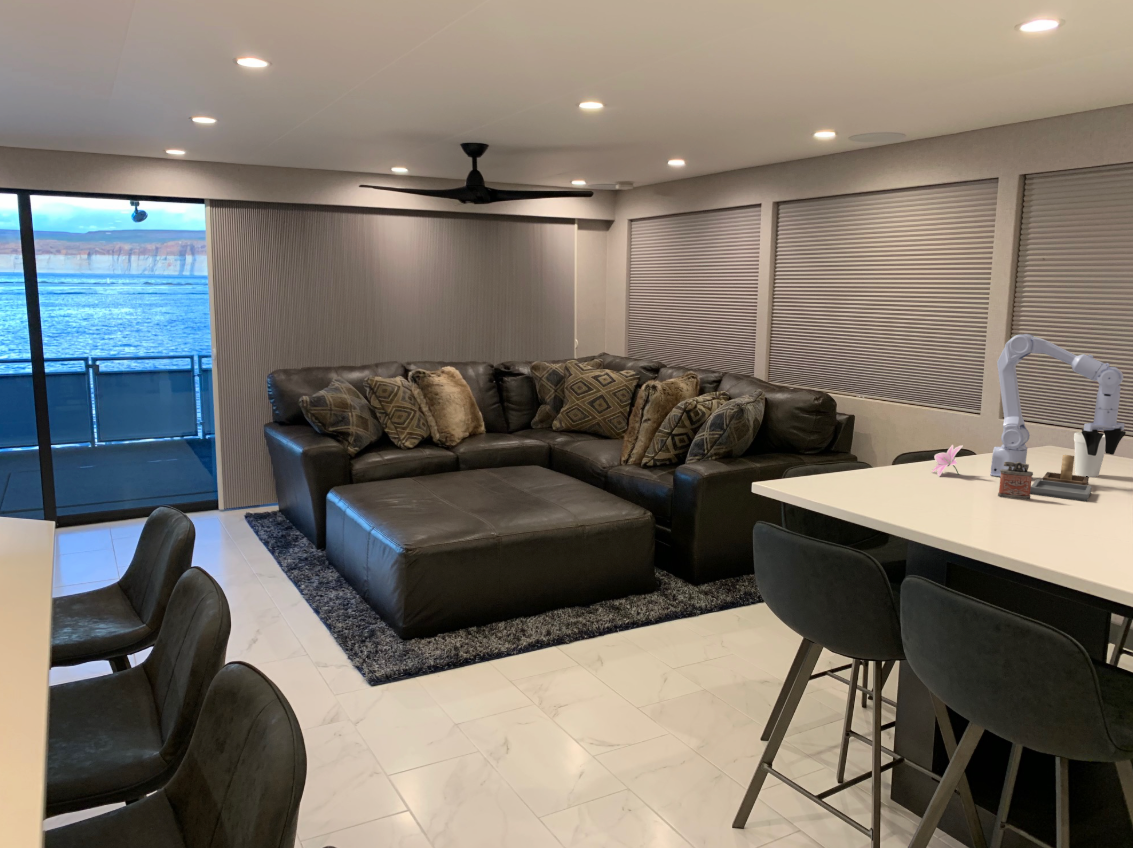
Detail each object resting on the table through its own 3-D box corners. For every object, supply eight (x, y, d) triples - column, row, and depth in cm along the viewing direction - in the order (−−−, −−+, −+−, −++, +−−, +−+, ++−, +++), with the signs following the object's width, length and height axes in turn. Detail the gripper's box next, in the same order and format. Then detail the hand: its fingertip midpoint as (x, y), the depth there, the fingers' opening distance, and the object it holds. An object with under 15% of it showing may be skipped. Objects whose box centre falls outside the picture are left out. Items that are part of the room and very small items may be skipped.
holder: (1042, 485, 255) (1043, 477, 255) (1046, 479, 264) (1047, 471, 264) (1085, 491, 249) (1086, 482, 249) (1087, 485, 258) (1088, 476, 258)
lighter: (1029, 497, 239) (1032, 462, 237) (1031, 500, 236) (1035, 464, 234) (996, 494, 241) (1000, 459, 240) (998, 497, 238) (1002, 461, 237)
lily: (934, 472, 277) (924, 447, 275) (973, 462, 271) (962, 436, 269) (934, 490, 267) (923, 464, 265) (974, 480, 261) (963, 454, 259)
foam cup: (1104, 479, 268) (1109, 438, 266) (1070, 475, 272) (1074, 435, 270) (1103, 474, 276) (1107, 434, 274) (1069, 470, 280) (1074, 431, 278)
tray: (1029, 494, 243) (1030, 487, 243) (1035, 485, 255) (1036, 479, 254) (1087, 501, 236) (1088, 494, 235) (1090, 492, 247) (1091, 486, 247)
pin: (1058, 485, 256) (1062, 455, 255) (1059, 483, 259) (1063, 454, 257) (1070, 487, 255) (1073, 457, 253) (1071, 485, 257) (1074, 455, 256)
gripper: (1102, 411, 244) (1096, 458, 246) (1136, 410, 250) (1130, 456, 252) (1079, 407, 251) (1073, 453, 253) (1113, 406, 256) (1107, 451, 258)
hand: (1100, 454), depth 253 cm, fingers open, 7 cm apart
